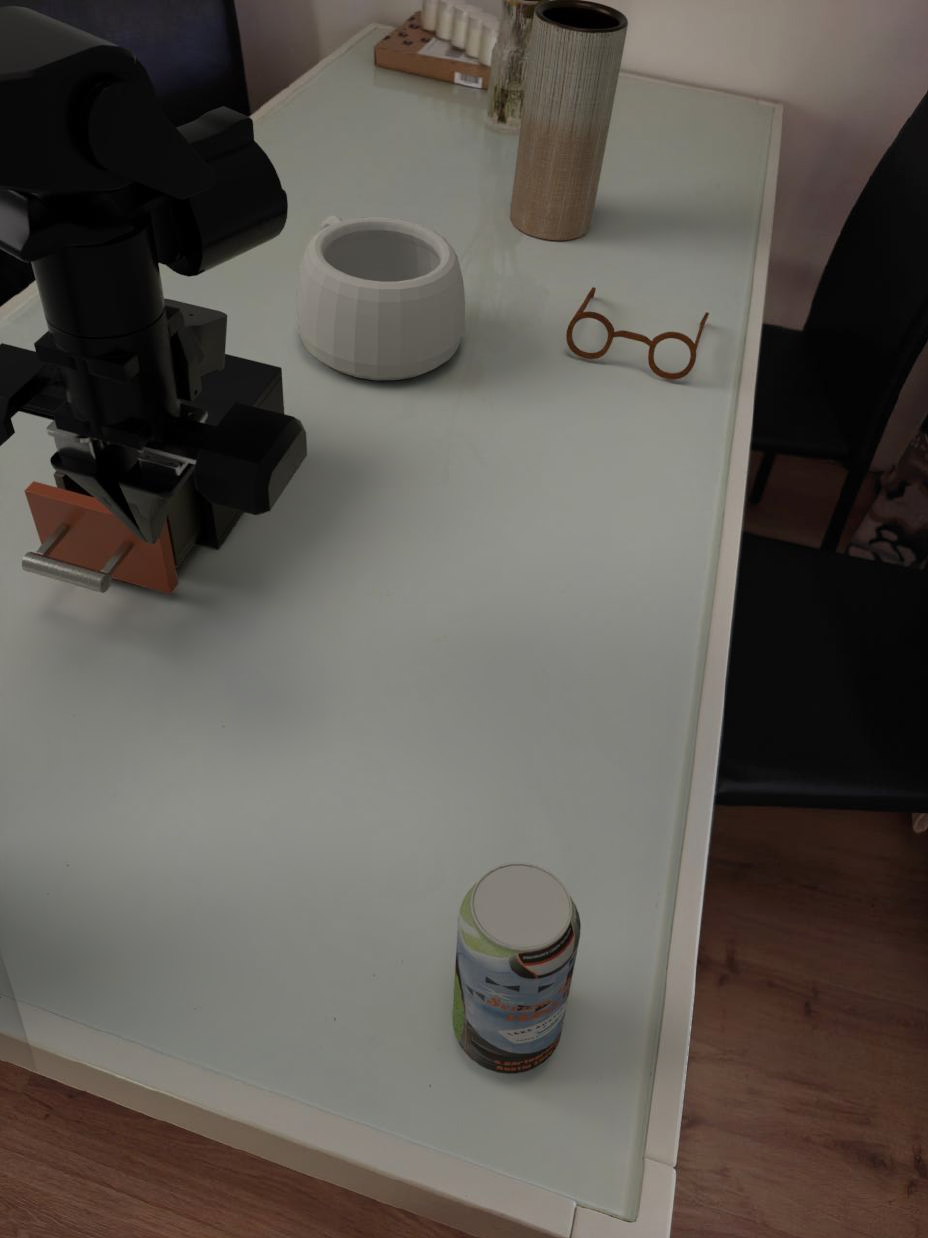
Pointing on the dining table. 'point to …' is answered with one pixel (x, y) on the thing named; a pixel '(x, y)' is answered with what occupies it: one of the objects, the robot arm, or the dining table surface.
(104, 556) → the drawer with bar handle
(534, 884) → the beverage can
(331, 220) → the mug
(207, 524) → the small drawer box
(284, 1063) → the dining table surface
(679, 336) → the glasses
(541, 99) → the tall ribbed vase
